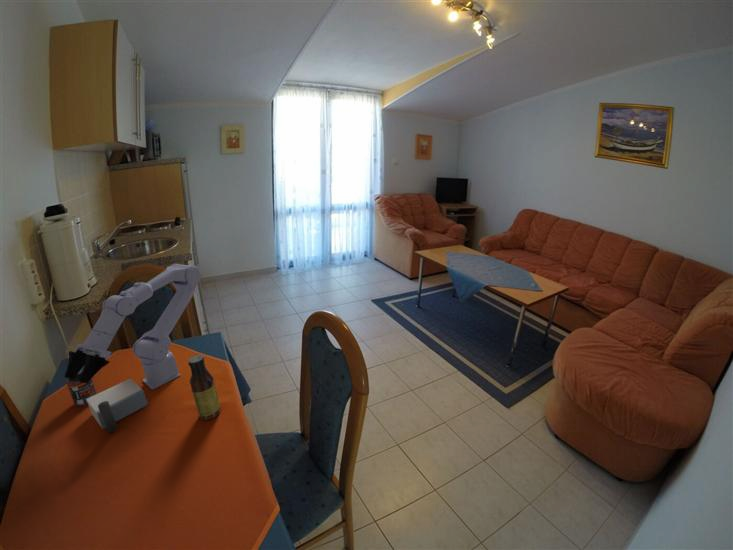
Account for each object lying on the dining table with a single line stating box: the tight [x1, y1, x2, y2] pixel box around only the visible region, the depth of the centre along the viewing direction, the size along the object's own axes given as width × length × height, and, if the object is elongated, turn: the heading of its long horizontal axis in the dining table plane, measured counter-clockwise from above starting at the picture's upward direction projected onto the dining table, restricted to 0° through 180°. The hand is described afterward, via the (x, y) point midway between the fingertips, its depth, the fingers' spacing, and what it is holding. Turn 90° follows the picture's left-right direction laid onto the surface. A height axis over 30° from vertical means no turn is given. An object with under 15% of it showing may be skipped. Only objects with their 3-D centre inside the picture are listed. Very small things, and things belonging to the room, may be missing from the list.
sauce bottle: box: [187, 354, 221, 421], centre depth 100 cm, size 7×6×20 cm
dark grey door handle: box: [97, 389, 148, 433], centre depth 100 cm, size 12×5×10 cm, turn 142°
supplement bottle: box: [66, 367, 98, 407], centre depth 108 cm, size 6×6×11 cm
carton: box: [86, 378, 143, 428], centre depth 105 cm, size 12×9×6 cm
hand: (75, 380), depth 93 cm, fingers open, 7 cm apart
